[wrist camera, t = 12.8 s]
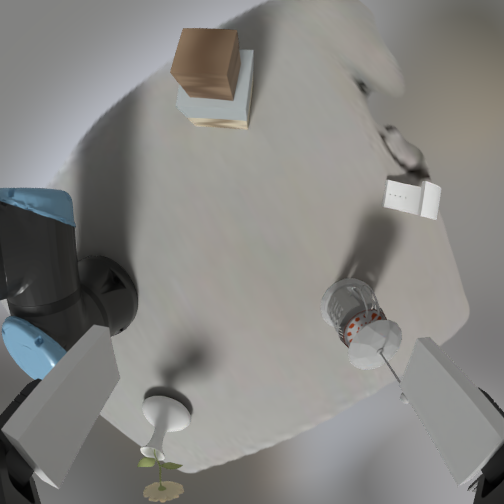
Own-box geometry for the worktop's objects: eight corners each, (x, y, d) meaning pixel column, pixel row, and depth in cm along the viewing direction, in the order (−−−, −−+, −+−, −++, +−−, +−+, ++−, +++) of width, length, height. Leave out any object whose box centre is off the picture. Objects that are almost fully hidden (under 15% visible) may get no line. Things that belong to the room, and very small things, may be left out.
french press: (321, 333, 47) (364, 440, 23) (317, 273, 44) (375, 366, 20) (371, 322, 47) (437, 413, 23) (371, 263, 44) (461, 335, 20)
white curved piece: (385, 179, 40) (425, 180, 29) (414, 187, 41) (457, 191, 29) (381, 206, 42) (420, 216, 30) (410, 213, 42) (451, 224, 30)
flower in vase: (146, 418, 54) (116, 498, 30) (141, 386, 51) (100, 474, 27) (199, 429, 54) (182, 516, 30) (199, 398, 52) (177, 497, 27)
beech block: (196, 126, 39) (187, 118, 33) (202, 80, 37) (195, 66, 31) (247, 129, 39) (246, 121, 33) (253, 83, 37) (253, 68, 31)
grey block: (187, 117, 33) (175, 106, 27) (195, 66, 31) (186, 48, 25) (247, 121, 33) (245, 109, 27) (253, 68, 31) (253, 50, 25)
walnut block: (189, 97, 27) (170, 72, 19) (198, 60, 26) (183, 28, 18) (233, 101, 27) (226, 75, 19) (240, 63, 26) (237, 30, 18)
